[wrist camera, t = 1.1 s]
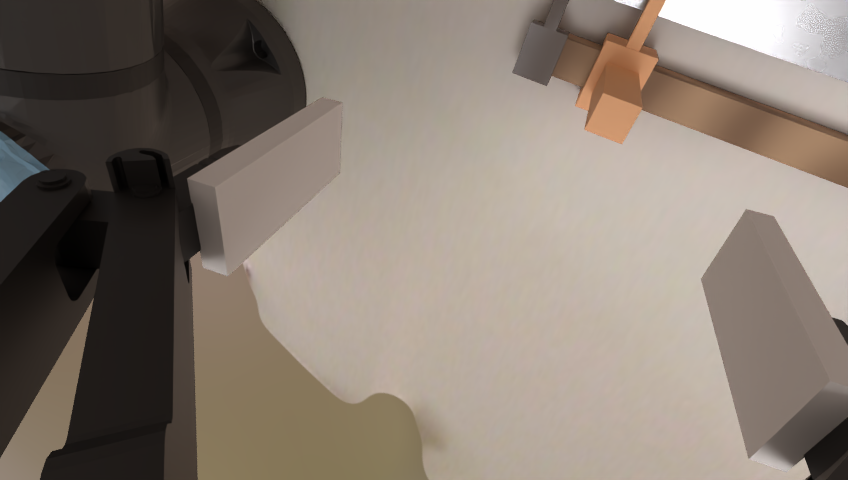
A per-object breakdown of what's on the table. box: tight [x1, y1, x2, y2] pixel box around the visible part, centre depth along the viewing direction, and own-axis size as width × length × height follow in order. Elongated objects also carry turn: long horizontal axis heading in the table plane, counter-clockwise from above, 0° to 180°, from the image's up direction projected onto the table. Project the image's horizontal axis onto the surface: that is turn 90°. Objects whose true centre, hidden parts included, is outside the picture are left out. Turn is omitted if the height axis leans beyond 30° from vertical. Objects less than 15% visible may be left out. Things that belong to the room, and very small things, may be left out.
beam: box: [512, 0, 848, 188], centre depth 27 cm, size 28×10×3 cm, turn 77°
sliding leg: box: [575, 0, 666, 144], centre depth 26 cm, size 3×10×10 cm, turn 164°
